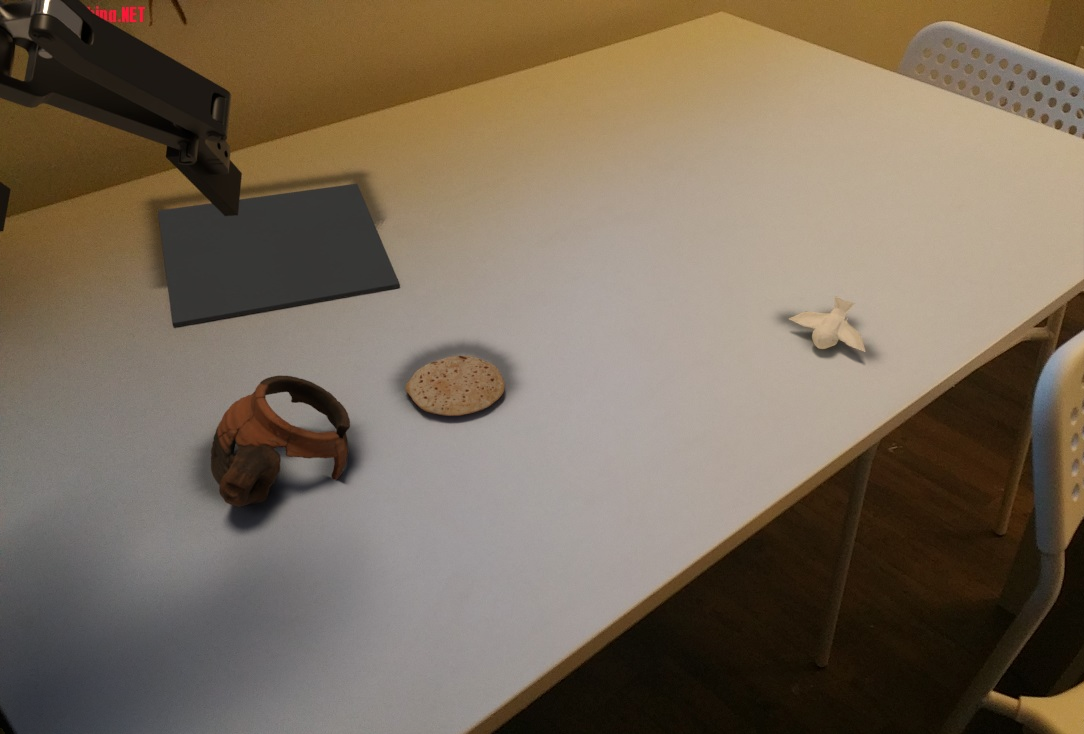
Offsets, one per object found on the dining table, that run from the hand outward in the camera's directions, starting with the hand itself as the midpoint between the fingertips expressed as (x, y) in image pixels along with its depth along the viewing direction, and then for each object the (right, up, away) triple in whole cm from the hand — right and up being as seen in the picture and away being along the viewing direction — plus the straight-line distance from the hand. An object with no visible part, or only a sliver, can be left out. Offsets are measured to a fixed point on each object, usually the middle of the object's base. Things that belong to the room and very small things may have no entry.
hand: (117, 203), depth 56 cm
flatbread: (+14, -11, +27) cm, 33 cm away
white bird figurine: (+47, -7, +37) cm, 60 cm away
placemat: (-7, +2, +41) cm, 42 cm away
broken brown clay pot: (+2, -18, +18) cm, 26 cm away
